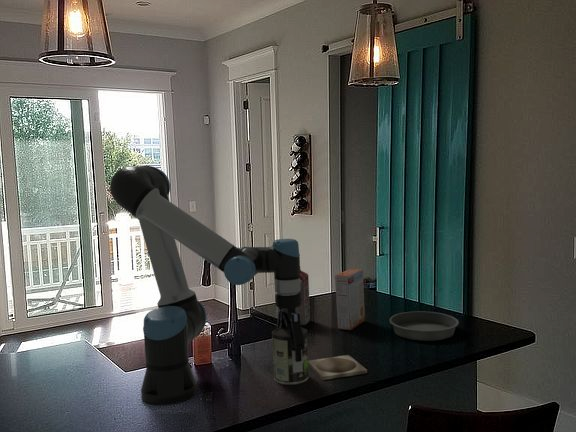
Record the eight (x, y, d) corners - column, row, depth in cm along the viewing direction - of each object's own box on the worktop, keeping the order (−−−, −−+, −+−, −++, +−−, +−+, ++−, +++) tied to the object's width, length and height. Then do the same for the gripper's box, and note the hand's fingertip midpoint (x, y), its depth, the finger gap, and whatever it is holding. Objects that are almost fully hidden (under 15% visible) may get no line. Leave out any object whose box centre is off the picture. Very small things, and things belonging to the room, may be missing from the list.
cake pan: (389, 342, 190) (389, 329, 190) (389, 322, 214) (389, 310, 214) (463, 343, 186) (463, 330, 186) (454, 322, 210) (454, 311, 210)
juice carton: (289, 324, 216) (286, 269, 214) (294, 319, 222) (292, 265, 220) (305, 325, 214) (303, 269, 212) (310, 320, 220) (308, 266, 218)
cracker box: (351, 319, 219) (349, 267, 217) (365, 321, 216) (364, 268, 214) (336, 329, 207) (334, 274, 205) (350, 331, 204) (349, 275, 202)
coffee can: (311, 372, 165) (309, 326, 164) (305, 385, 155) (303, 337, 154) (278, 370, 167) (276, 325, 166) (270, 384, 157) (268, 336, 156)
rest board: (322, 380, 158) (322, 376, 158) (307, 363, 172) (307, 360, 172) (367, 373, 162) (367, 369, 162) (348, 357, 176) (348, 354, 176)
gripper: (314, 300, 148) (317, 376, 150) (288, 283, 172) (290, 348, 173) (287, 303, 146) (291, 381, 147) (264, 285, 169) (267, 352, 171)
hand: (290, 363), depth 160 cm, fingers open, 13 cm apart
